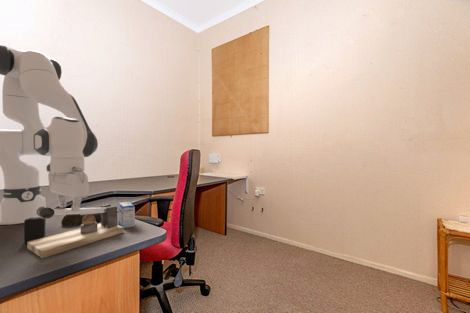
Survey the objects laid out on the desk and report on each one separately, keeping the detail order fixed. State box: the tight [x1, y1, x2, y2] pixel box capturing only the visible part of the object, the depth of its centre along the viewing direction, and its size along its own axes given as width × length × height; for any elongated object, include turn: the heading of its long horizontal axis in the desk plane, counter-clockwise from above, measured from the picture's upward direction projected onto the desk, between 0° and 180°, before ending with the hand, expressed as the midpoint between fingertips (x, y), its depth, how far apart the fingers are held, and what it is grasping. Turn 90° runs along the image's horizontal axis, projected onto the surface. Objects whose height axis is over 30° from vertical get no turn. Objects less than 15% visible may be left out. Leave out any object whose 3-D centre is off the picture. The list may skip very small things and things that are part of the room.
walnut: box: [81, 213, 97, 225], centre depth 79 cm, size 4×4×4 cm
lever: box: [37, 206, 107, 219], centre depth 77 cm, size 4×22×3 cm, turn 147°
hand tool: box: [61, 213, 101, 227], centre depth 96 cm, size 19×4×5 cm, turn 119°
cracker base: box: [26, 203, 124, 259], centre depth 77 cm, size 12×24×10 cm, turn 147°
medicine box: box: [117, 201, 136, 229], centre depth 92 cm, size 8×4×9 cm, turn 40°
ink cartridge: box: [23, 217, 47, 245], centre depth 75 cm, size 5×2×8 cm, turn 120°
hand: (68, 208), depth 74 cm, fingers open, 8 cm apart
